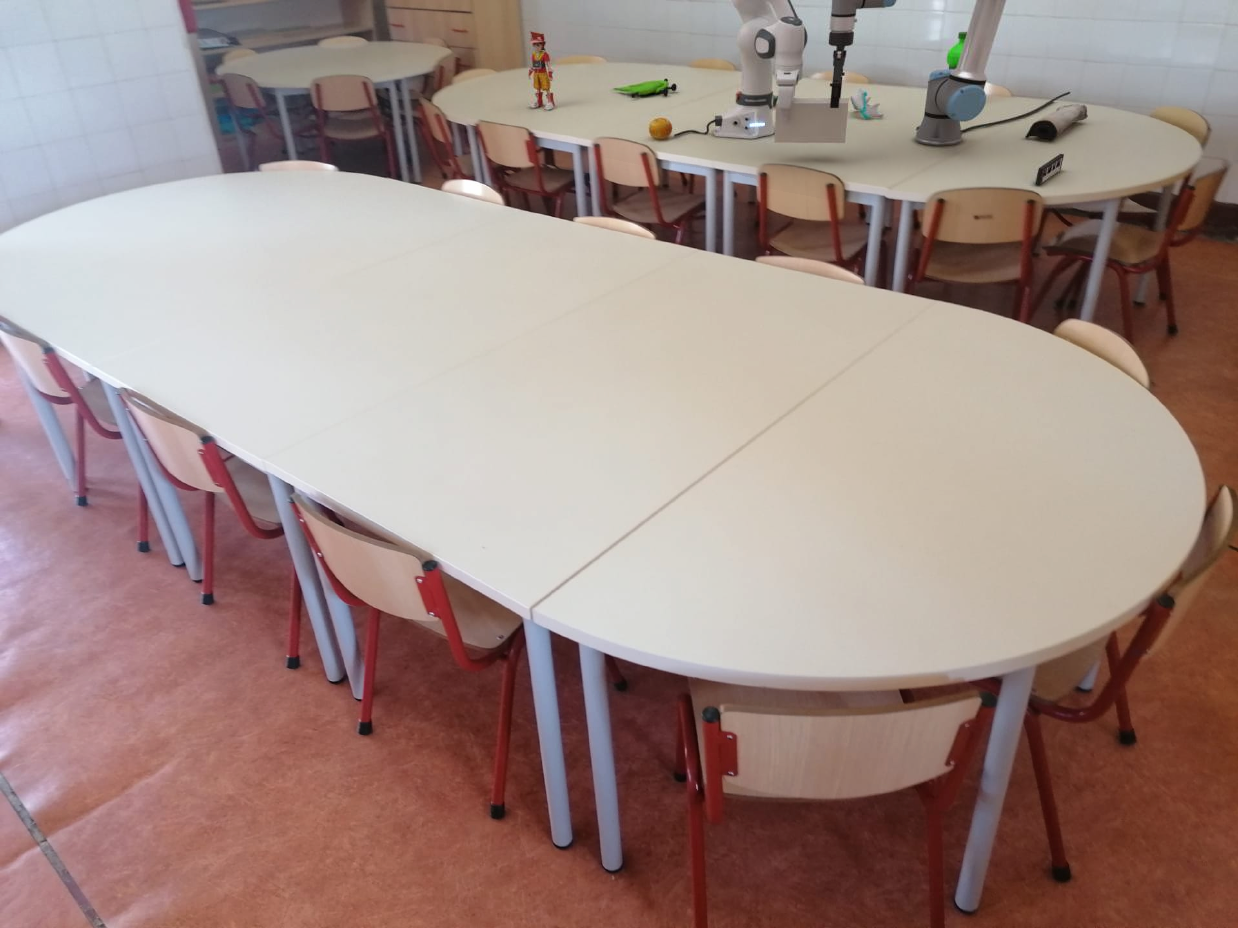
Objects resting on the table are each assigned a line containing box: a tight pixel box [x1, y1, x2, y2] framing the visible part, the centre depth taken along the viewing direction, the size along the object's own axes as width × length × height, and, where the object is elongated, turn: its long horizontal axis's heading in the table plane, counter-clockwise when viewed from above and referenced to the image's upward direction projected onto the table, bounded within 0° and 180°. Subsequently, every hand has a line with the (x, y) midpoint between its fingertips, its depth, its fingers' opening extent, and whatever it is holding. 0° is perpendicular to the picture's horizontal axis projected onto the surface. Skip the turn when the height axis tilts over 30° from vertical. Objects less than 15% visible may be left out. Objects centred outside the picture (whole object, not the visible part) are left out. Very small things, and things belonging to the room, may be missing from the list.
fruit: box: [648, 117, 673, 140], centre depth 332 cm, size 8×8×8 cm
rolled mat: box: [1024, 103, 1089, 142], centre depth 314 cm, size 30×9×10 cm
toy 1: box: [527, 31, 556, 111], centre depth 374 cm, size 12×9×30 cm
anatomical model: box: [849, 88, 884, 120], centre depth 343 cm, size 15×10×10 cm
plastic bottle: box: [946, 31, 967, 69], centre depth 348 cm, size 10×10×25 cm
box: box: [774, 97, 850, 144], centre depth 295 cm, size 23×6×12 cm, turn 76°
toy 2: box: [612, 78, 677, 99], centre depth 396 cm, size 28×5×30 cm
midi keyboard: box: [1035, 153, 1065, 186], centre depth 273 cm, size 18×1×5 cm, turn 138°
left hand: (786, 118), depth 297 cm, fingers closed on box, 6 cm apart
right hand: (835, 102), depth 290 cm, fingers open, 13 cm apart
